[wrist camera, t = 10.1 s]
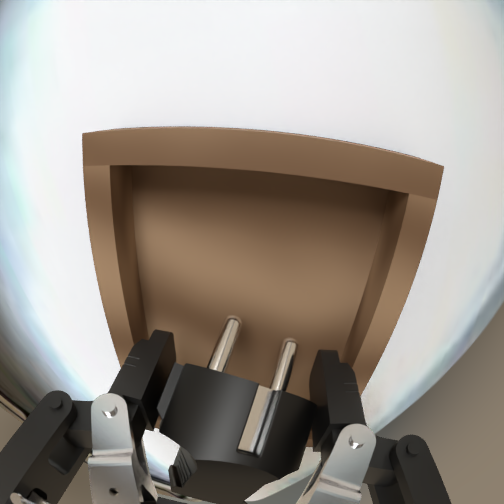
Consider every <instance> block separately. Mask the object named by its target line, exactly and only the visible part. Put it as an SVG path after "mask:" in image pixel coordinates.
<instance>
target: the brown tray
mask: <svg viewBox="0 0 504 504" xmlns="http://www.w3.org/2000/svg"><path fill="white" fill-rule="evenodd" d="M82 147H83V174H84V189H85V201H86V211H87V219H88V227H89V235H90V242H91V248H92V254H93V260H94V265H95V271H96V276H97V281H98V286H99V290H100V295H101V299H102V303H103V308H104V312H105V316H106V319H107V323H108V327H109V331H110V334H111V338H112V341H113V344H114V348H115V351H116V354H117V357H118V360H119V364H120V367H122V365H124V362H125V360H126V358H127V357H128V354H129V352H130V351H131V349H132V347H133V346H134V345H135V344H136V343H137V342H139V341H140V340H141V339H145V340H149V338H150V337H151V335H152V333H153V331H154V330H155V329H157V330H163V331H168V332H172V333H173V335H174V342H175V350H176V363H178V364H180V365H183V366H184V365H185V364H186V363H188V364H193V365H197V366H201V367H205V368H206V366H207V364H208V361H209V358H210V356H211V353H212V350H213V348H214V345H215V342H216V340H217V337H218V334H219V332H220V329H221V326H222V324H223V321H224V319H225V317H227V316H228V315H236V316H238V317H239V318H240V319H241V320H242V328H241V331H240V334H239V337H238V339H237V342H236V345H235V348H234V351H233V354H232V357H231V359H230V362H229V365H228V368H227V371H226V373H227V374H230V375H234V376H237V377H240V378H244V379H247V380H250V381H254V382H257V383H260V384H259V385H260V386H263V387H266V388H268V385H269V381H270V378H271V375H272V371H273V368H274V365H275V361H276V358H277V354H278V351H279V348H280V344H281V341H282V340H283V339H284V338H287V337H292V338H295V339H296V340H297V341H298V344H299V345H298V351H297V355H296V359H295V362H294V366H293V370H292V373H291V377H290V381H289V384H288V388H287V391H286V392H288V393H291V394H294V395H297V396H300V397H302V398H305V399H307V400H309V401H310V393H309V378H310V373H311V370H312V367H313V364H314V361H315V358H316V355H317V352H318V350H319V349H323V350H337V351H338V355H339V360H340V363H348V364H349V365H350V366H351V368H352V369H353V371H354V372H355V376H356V380H357V385H358V389H359V394H360V396H361V394H362V392H363V391H364V389H365V387H366V385H367V383H368V381H369V380H370V378H371V376H372V374H373V372H374V370H375V368H376V366H377V364H378V362H379V360H380V358H381V356H382V354H383V352H384V350H385V348H386V346H387V344H388V342H389V339H390V337H391V335H392V333H393V330H394V328H395V326H396V324H397V321H398V319H399V317H400V314H401V312H402V309H403V307H404V304H405V302H406V299H407V297H408V294H409V291H410V289H411V286H412V283H413V280H414V278H415V275H416V272H417V269H418V266H419V263H420V260H421V257H422V254H423V251H424V247H425V244H426V241H427V237H428V234H429V230H430V226H431V223H432V219H433V215H434V211H435V207H436V203H437V198H438V194H439V189H440V185H441V180H442V175H443V169H444V166H441V165H438V164H435V163H433V162H430V161H427V160H424V159H421V158H417V157H414V156H411V155H407V154H403V153H399V152H395V151H390V150H386V149H382V148H377V147H372V146H368V145H363V144H357V143H352V142H347V141H341V140H335V139H329V138H323V137H316V136H309V135H302V134H294V133H285V132H276V131H266V130H254V129H240V128H222V127H139V128H121V129H111V130H103V131H96V132H89V133H82ZM160 421H161V417H160V415H159V416H158V419H157V422H156V425H155V428H158V429H159V426H160ZM306 447H313V441H312V427H311V431H310V434H309V438H308V441H307V444H306Z"/></svg>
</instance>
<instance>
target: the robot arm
mask: <svg viewBox="0 0 504 504" xmlns="http://www.w3.org/2000/svg"><path fill="white" fill-rule="evenodd" d="M174 362H176V350H175V342H174V335H173V333H172V332H168V331H163V330H157V329H155V330H154V331H153V333H152V335H151V337H150V338H149V340H145V339H141V340H140V341H139V342H137V343H136V344H135V345H134V346H133V347H132V349H131V351H130V352H129V354H128V357H127V358H126V360H125V362H124V365H122V367H121V369H120V371H119V373H118V375H117V377H116V379H115V381H114V383H113V384H112V386H111V388H110V390H109V392H108V393H107V394H103V395H100V396H99V397H97V398H96V399H95V400H94V401H75V400H72V399H71V398H70V396H69V395H68V394H67V393H65V392H63V391H59V390H58V391H52V392H50V393H48V394H47V395H46V396H45V397H44V398H43V399H42V400H41V401H40V403H39V404H38V405H37V406H36V407H35V409H34V410H33V411H32V412H31V414H30V415H29V416H28V417H27V419H26V420H25V421H24V422H23V424H22V425H21V426H20V427H19V429H18V430H17V431H16V432H15V434H14V435H13V436H12V438H11V439H10V440H9V442H8V443H7V445H6V446H5V447H4V448H3V450H2V451H1V452H0V504H57V503H58V501H59V500H60V499H61V497H62V495H63V494H64V492H65V491H66V489H67V487H68V486H69V484H70V483H71V481H72V479H73V478H74V476H75V475H76V473H77V471H78V470H79V468H80V467H81V465H82V464H83V462H84V461H85V459H86V457H87V456H88V454H89V453H90V451H91V450H92V448H93V455H92V456H90V457H89V459H88V468H89V478H90V486H91V494H92V500H93V504H187V503H182V502H177V501H173V500H169V499H165V498H161V497H158V496H157V493H156V490H155V487H154V484H153V482H152V479H151V476H150V472H149V467H148V463H147V458H146V453H145V448H144V443H143V438H142V437H143V434H144V431H145V429H146V430H150V431H154V428H155V425H156V422H157V419H158V416H159V413H158V411H157V409H156V407H157V405H158V402H159V399H160V397H161V394H162V392H163V389H164V387H165V384H166V382H167V379H168V377H169V374H170V372H171V369H172V367H173V364H174ZM309 393H310V401H311V402H313V403H315V404H316V405H317V409H316V413H315V417H314V420H313V424H312V441H313V452H321V460H320V462H319V464H318V466H317V468H316V470H315V472H314V474H313V475H312V477H311V479H310V481H309V483H308V485H307V487H306V488H305V490H304V492H303V494H302V495H301V497H300V499H299V500H298V501H297V503H296V504H359V502H360V499H361V492H360V487H361V484H362V483H366V484H368V487H369V491H370V495H371V498H372V501H373V504H451V502H450V499H449V496H448V493H447V491H446V488H445V486H444V484H443V481H442V478H441V476H440V474H439V471H438V469H437V466H436V464H435V462H434V460H433V457H432V455H431V453H430V450H429V448H428V446H427V444H426V442H425V441H424V440H423V439H422V438H421V437H419V436H416V435H406V436H404V437H403V438H401V439H400V440H399V441H397V440H391V439H386V438H382V437H378V436H376V435H375V434H374V432H373V431H372V430H371V429H370V428H369V427H367V425H366V422H365V418H364V413H363V408H362V403H361V398H360V394H359V389H358V385H357V380H356V376H355V372H354V371H353V369H352V368H351V366H350V365H349V364H348V363H340V360H339V355H338V351H337V350H323V349H319V350H318V352H317V355H316V358H315V361H314V364H313V367H312V370H311V373H310V378H309Z"/></svg>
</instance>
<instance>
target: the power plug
mask: <svg viewBox="0 0 504 504" xmlns="http://www.w3.org/2000/svg"><path fill="white" fill-rule="evenodd" d="M241 328H242V320H241V319H240V318H239V317H238V316H236V315H228V316H227V317H225V319H224V321H223V324H222V326H221V329H220V332H219V334H218V337H217V340H216V342H215V345H214V348H213V350H212V353H211V356H210V358H209V361H208V364H207V366H206V368H205V367H201V366H197V365H193V364H188V363H186V364H185V365H184V366H183V365H180V364H178V363H176V362H174V364H173V367H172V369H171V372H170V374H169V377H168V379H167V382H166V384H165V387H164V389H163V392H162V394H161V397H160V399H159V402H158V405H157V407H156V409H157V411H158V413H159V415H160V417H161V421H160V426H159V432H160V433H162V434H164V435H165V436H167V437H169V438H170V439H172V440H173V441H175V442H176V443H177V444H179V445H180V448H179V451H178V454H177V456H176V459H175V462H174V464H173V465H170V467H169V470H168V471H169V478H170V485H171V491H172V492H175V493H178V494H181V495H185V496H188V497H192V498H196V499H199V500H203V501H208V502H212V503H216V504H247V503H246V502H245V501H244V500H246V499H247V498H248V497H250V496H251V495H252V494H254V493H255V492H256V491H257V490H259V489H260V488H261V487H262V486H264V485H265V484H268V483H270V482H273V481H275V480H279V479H281V478H282V477H284V476H286V475H288V474H290V473H292V472H295V471H297V470H298V469H299V467H300V464H301V460H302V457H303V454H304V451H305V448H306V444H307V441H308V438H309V434H310V431H311V427H312V424H313V420H314V417H315V413H316V409H317V405H316V404H315V403H313V402H311V401H309V400H307V399H305V398H302V397H300V396H297V395H294V394H291V393H288V392H286V391H287V388H288V384H289V381H290V377H291V373H292V370H293V366H294V362H295V359H296V355H297V351H298V345H299V344H298V341H297V340H296V339H295V338H292V337H287V338H284V339H283V340H282V341H281V344H280V348H279V351H278V354H277V358H276V361H275V365H274V368H273V371H272V375H271V378H270V381H269V385H268V388H266V387H263V386H260V385H259V384H260V383H257V382H254V381H250V380H247V379H244V378H240V377H237V376H234V375H230V374H227V373H226V371H227V368H228V365H229V362H230V359H231V357H232V354H233V351H234V348H235V345H236V342H237V339H238V337H239V334H240V331H241Z"/></svg>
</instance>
